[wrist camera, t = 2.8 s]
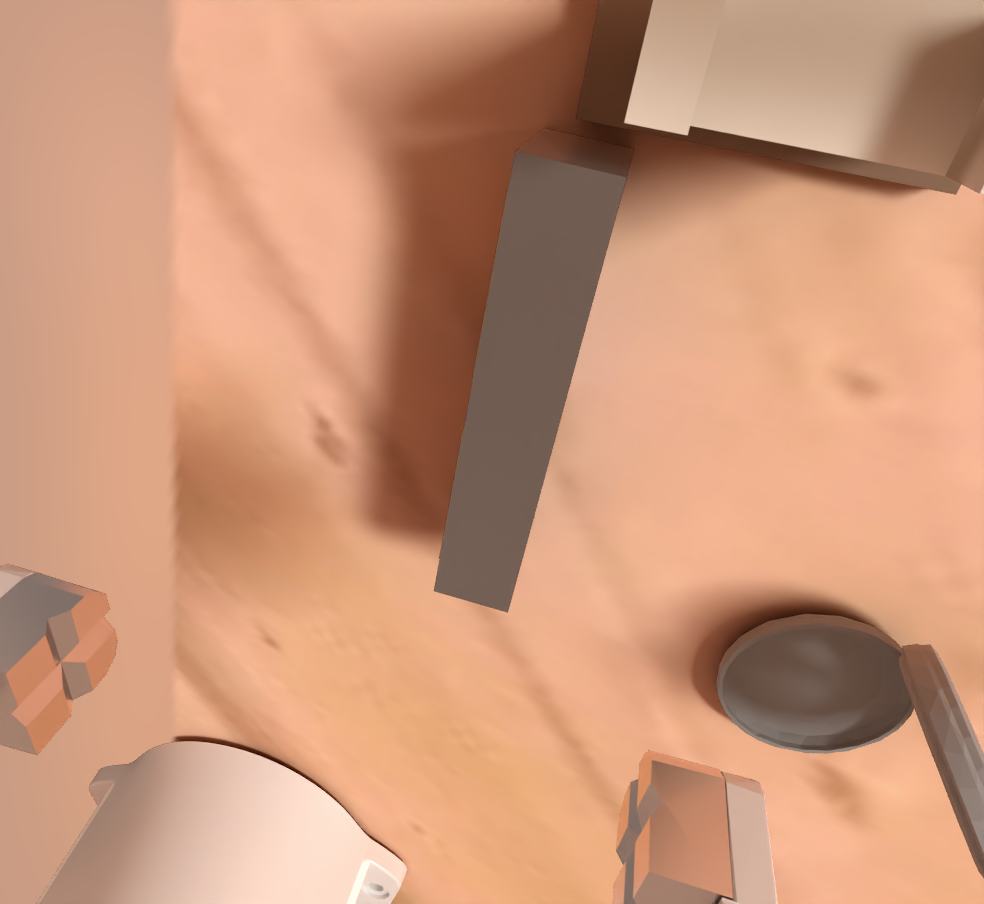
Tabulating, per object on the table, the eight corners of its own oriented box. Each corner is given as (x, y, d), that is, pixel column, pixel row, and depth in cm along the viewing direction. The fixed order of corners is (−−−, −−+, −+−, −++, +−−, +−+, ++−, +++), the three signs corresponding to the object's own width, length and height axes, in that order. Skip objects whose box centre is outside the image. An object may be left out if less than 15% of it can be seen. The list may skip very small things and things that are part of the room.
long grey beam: (530, 527, 25) (507, 612, 21) (464, 509, 25) (430, 590, 22) (634, 148, 18) (626, 177, 14) (541, 126, 18) (510, 150, 15)
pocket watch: (680, 678, 27) (688, 968, 19) (831, 540, 23) (932, 840, 14) (854, 771, 28) (938, 1091, 19) (1036, 654, 23) (1248, 1007, 15)
